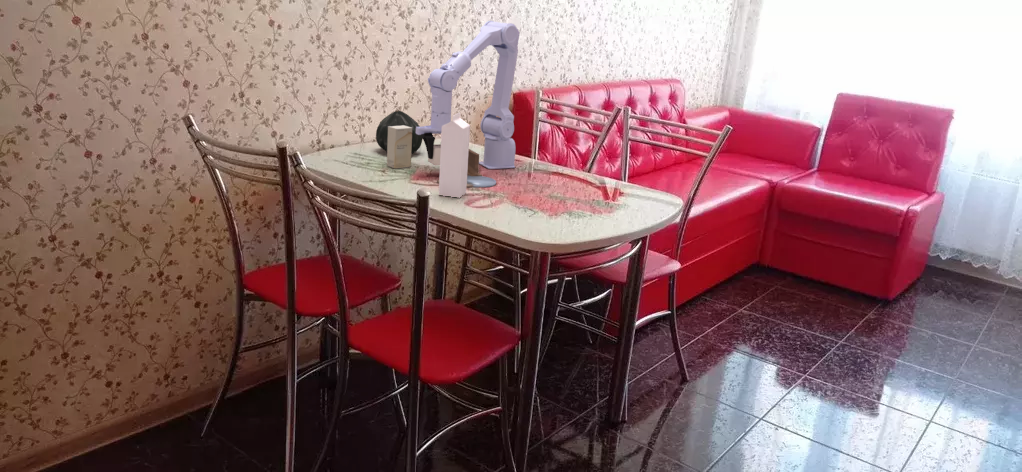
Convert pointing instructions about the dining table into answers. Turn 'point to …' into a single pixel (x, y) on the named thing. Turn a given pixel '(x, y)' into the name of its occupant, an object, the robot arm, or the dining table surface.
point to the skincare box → (399, 146)
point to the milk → (454, 157)
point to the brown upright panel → (473, 164)
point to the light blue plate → (481, 181)
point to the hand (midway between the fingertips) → (439, 157)
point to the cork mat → (467, 184)
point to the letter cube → (436, 155)
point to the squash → (397, 120)
